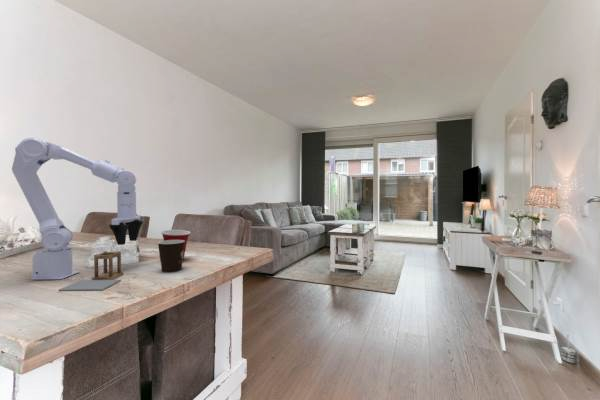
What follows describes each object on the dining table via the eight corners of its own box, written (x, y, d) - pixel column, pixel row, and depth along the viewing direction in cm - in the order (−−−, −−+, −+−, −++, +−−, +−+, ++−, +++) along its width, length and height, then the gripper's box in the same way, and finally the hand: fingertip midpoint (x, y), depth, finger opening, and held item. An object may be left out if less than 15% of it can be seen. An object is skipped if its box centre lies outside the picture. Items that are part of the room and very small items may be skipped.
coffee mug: (174, 274, 94) (174, 244, 94) (152, 272, 96) (152, 243, 96) (194, 265, 106) (194, 238, 105) (174, 264, 107) (174, 238, 107)
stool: (92, 280, 87) (91, 255, 87) (104, 275, 93) (104, 251, 93) (112, 280, 87) (111, 255, 87) (123, 275, 93) (122, 251, 93)
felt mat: (58, 291, 78) (58, 289, 78) (80, 281, 86) (80, 280, 86) (102, 290, 78) (102, 289, 78) (120, 280, 87) (120, 279, 87)
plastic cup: (180, 264, 106) (180, 233, 106) (155, 263, 108) (154, 232, 108) (196, 258, 117) (195, 229, 117) (172, 256, 119) (172, 228, 118)
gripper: (126, 205, 93) (127, 246, 94) (148, 204, 108) (148, 239, 108) (104, 205, 93) (105, 246, 93) (129, 204, 107) (130, 239, 108)
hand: (127, 242), depth 101 cm, fingers open, 7 cm apart
